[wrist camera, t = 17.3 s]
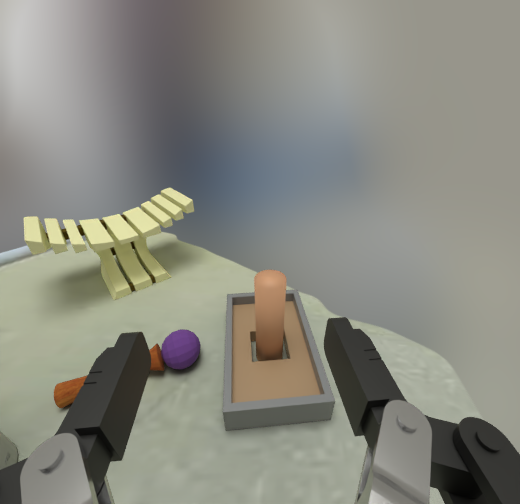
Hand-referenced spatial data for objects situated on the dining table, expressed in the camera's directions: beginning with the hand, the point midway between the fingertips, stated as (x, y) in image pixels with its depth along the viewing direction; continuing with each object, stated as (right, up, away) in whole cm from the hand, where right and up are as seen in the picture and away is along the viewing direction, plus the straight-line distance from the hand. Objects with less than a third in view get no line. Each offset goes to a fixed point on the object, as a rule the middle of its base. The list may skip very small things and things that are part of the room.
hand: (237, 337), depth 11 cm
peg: (+3, -14, +32) cm, 35 cm away
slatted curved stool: (-31, -2, +53) cm, 61 cm away
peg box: (+2, -14, +32) cm, 35 cm away
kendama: (-18, -16, +29) cm, 38 cm away
